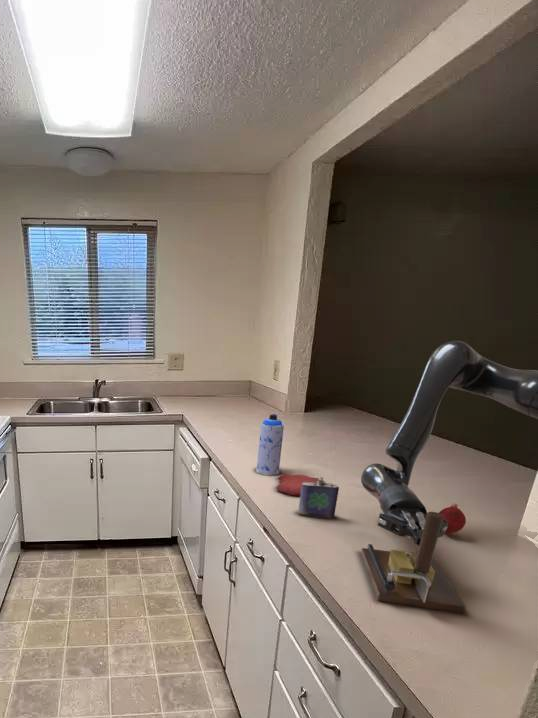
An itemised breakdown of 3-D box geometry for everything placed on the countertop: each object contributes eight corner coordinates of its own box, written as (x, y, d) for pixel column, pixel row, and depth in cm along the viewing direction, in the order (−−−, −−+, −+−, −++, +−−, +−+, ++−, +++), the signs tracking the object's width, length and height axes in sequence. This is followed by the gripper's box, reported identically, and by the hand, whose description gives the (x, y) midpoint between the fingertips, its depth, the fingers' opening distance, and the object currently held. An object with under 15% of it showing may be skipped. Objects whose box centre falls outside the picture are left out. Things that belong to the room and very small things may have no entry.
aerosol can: (280, 475, 147) (287, 417, 140) (257, 474, 148) (262, 417, 141) (277, 467, 154) (283, 412, 147) (255, 466, 155) (260, 412, 148)
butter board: (431, 562, 95) (436, 542, 93) (463, 613, 79) (470, 590, 77) (360, 553, 99) (364, 534, 97) (377, 600, 83) (382, 578, 81)
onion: (463, 541, 103) (472, 510, 101) (435, 536, 106) (443, 506, 103) (458, 530, 108) (466, 501, 105) (431, 526, 111) (438, 497, 108)
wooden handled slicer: (421, 586, 84) (440, 512, 78) (431, 603, 78) (452, 526, 73) (378, 580, 86) (394, 507, 80) (385, 596, 81) (402, 521, 75)
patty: (279, 475, 147) (280, 470, 146) (323, 480, 142) (324, 475, 141) (274, 494, 132) (275, 488, 131) (324, 500, 127) (325, 494, 126)
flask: (298, 515, 118) (303, 478, 114) (297, 510, 120) (302, 474, 117) (335, 518, 116) (341, 481, 112) (333, 514, 118) (339, 477, 114)
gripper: (371, 488, 97) (389, 521, 81) (439, 494, 93) (472, 530, 78) (365, 518, 99) (382, 556, 84) (431, 525, 96) (461, 566, 80)
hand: (425, 543), depth 81 cm, fingers closed
